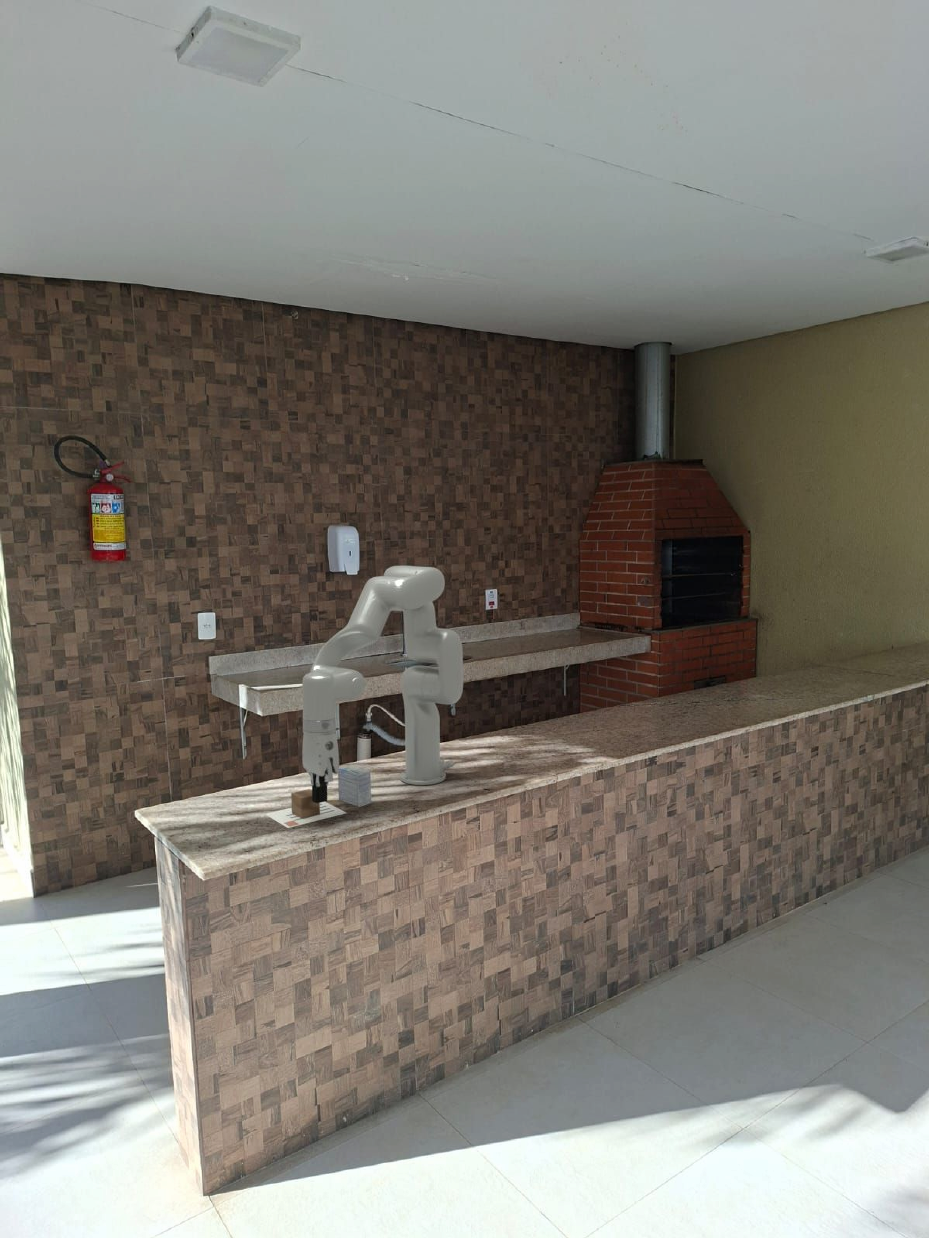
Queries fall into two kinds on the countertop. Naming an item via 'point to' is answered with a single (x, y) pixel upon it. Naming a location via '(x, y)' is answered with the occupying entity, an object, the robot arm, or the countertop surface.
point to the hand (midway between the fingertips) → (319, 801)
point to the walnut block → (304, 804)
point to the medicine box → (354, 786)
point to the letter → (292, 820)
